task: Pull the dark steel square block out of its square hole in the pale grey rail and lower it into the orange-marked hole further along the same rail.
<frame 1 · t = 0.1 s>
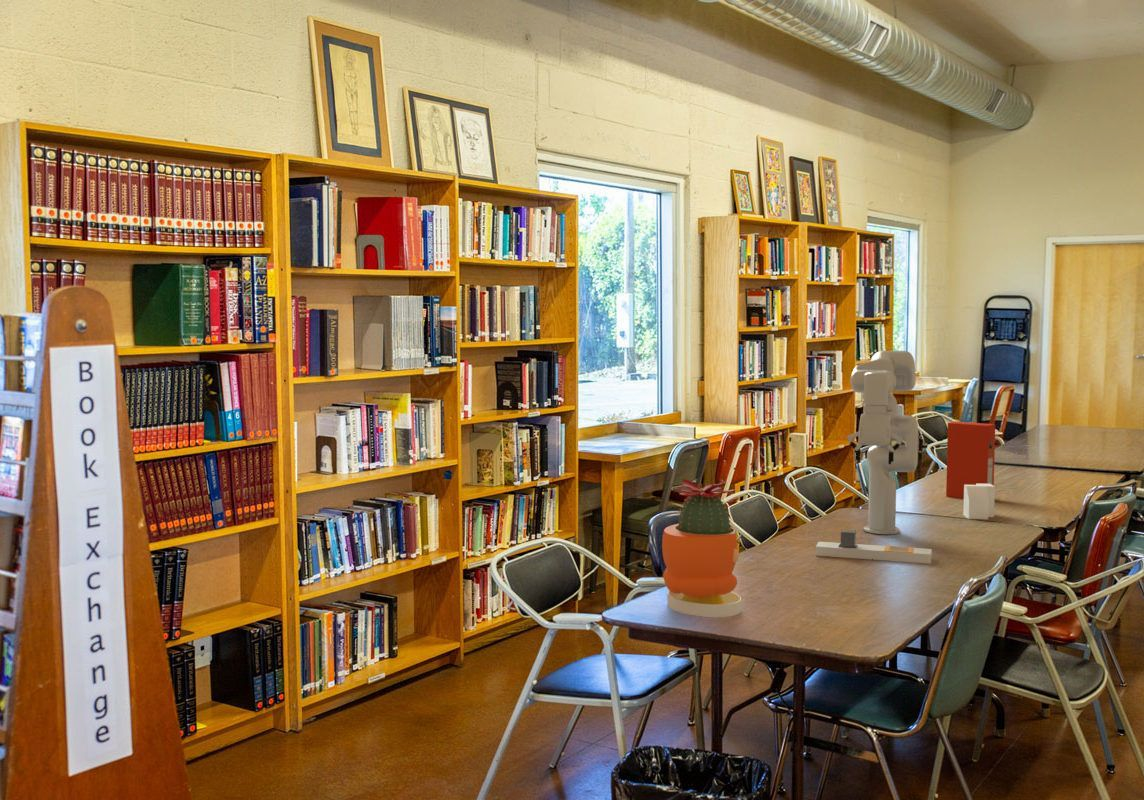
hand: (874, 463, 350), 31 cm above the table, tool pointing down, fingers open, 9 cm apart
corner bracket: (979, 516, 423), on the table
rail: (873, 556, 355), on the table
file binder: (969, 498, 464), on the table
potted cactus: (699, 609, 294), on the table
steel block: (848, 555, 357), resting in rail
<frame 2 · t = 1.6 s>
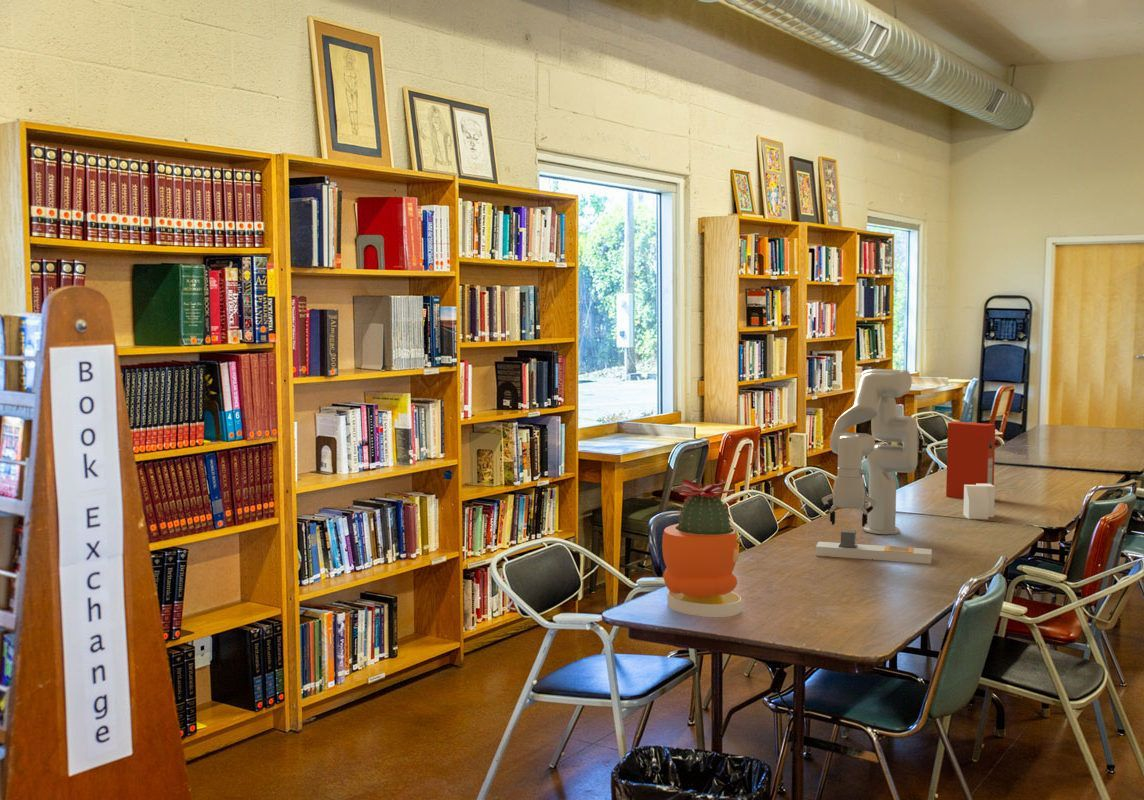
hand: (848, 525, 356), 10 cm above the table, tool pointing down, fingers open, 9 cm apart
nothing on the table moved.
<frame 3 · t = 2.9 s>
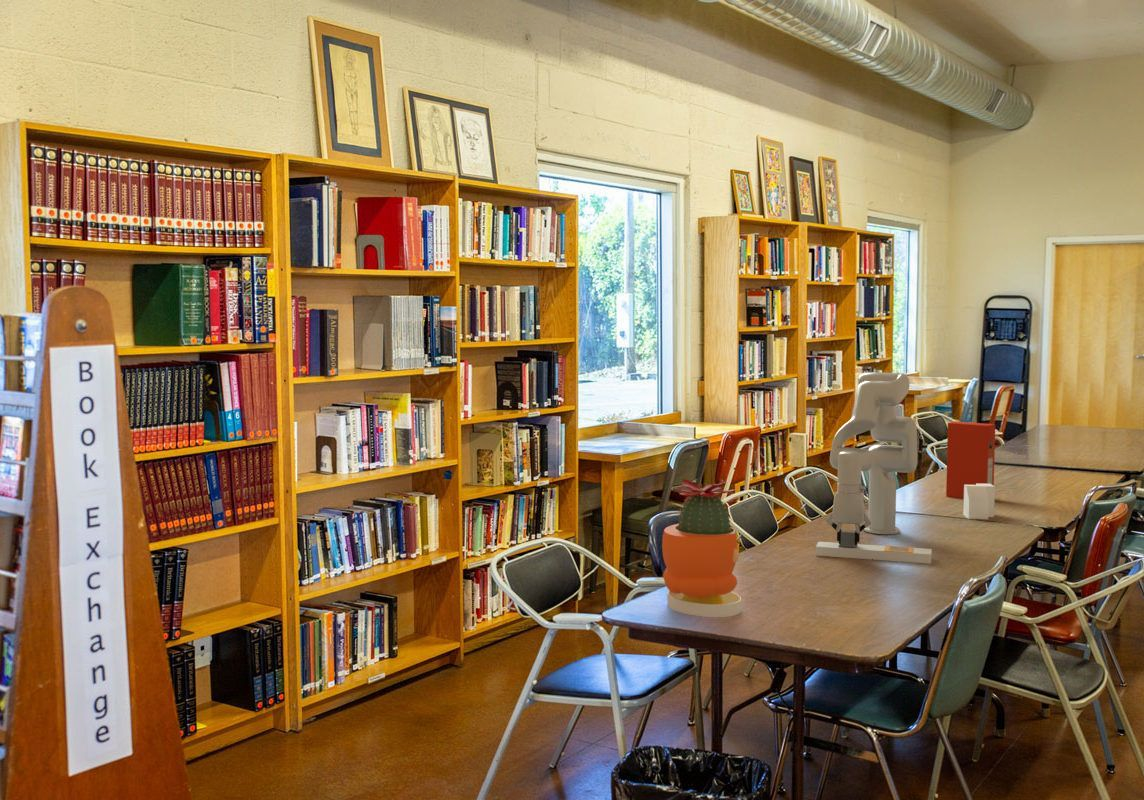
hand: (848, 543, 357), 4 cm above the table, tool pointing down, fingers closed on steel block, 4 cm apart
steel block: (847, 555, 357), resting in rail, touching gripper
everything else where it was.
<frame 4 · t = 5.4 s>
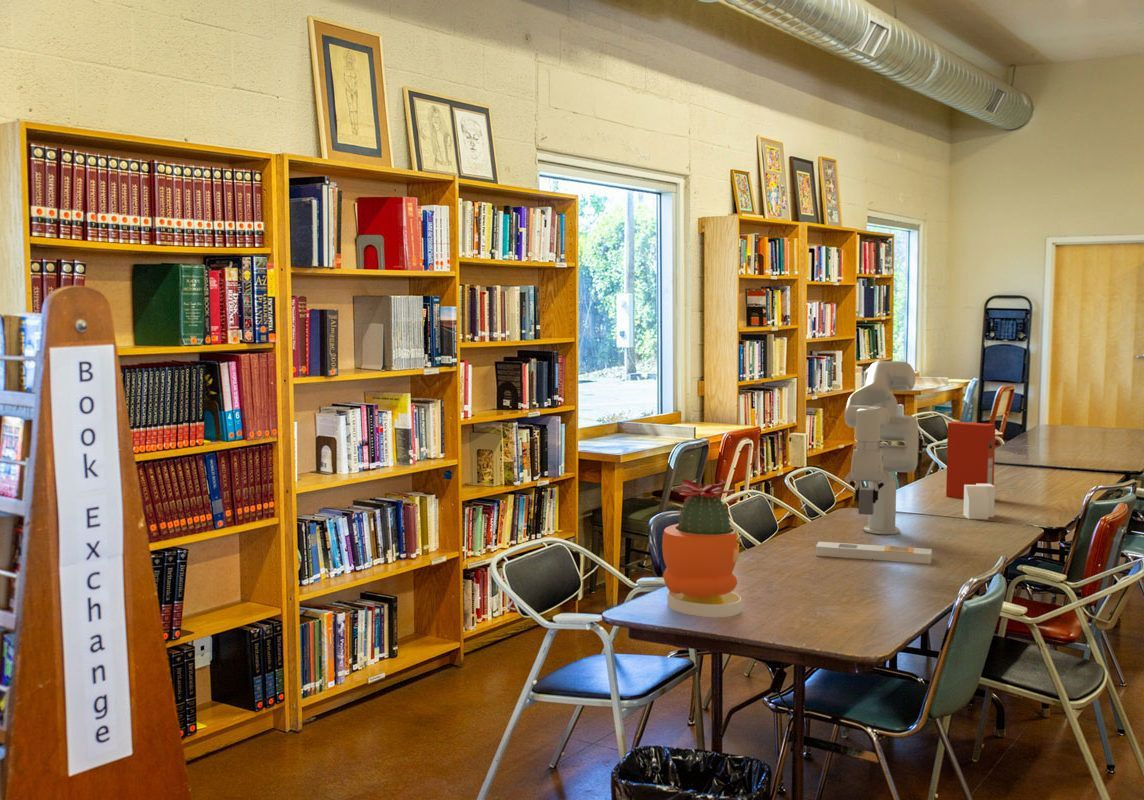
hand: (866, 501, 354), 18 cm above the table, tool pointing down, fingers closed on steel block, 4 cm apart
steel block: (866, 513, 354), point 14 cm above the table, touching gripper
everything else where it was.
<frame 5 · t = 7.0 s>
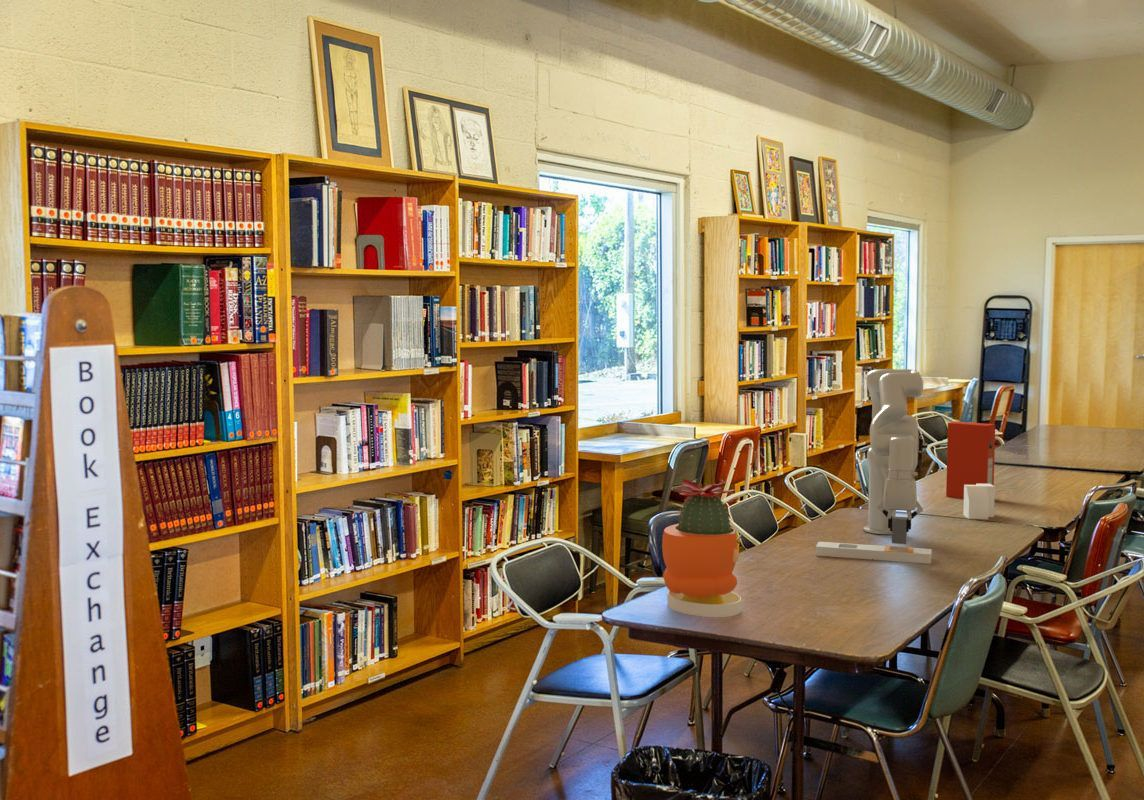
hand: (899, 530, 351), 9 cm above the table, tool pointing down, fingers closed on steel block, 4 cm apart
steel block: (899, 542, 352), point 5 cm above the table, touching gripper
everything else where it was.
when the fingers open (5 cm above the table, at t = 8.3 s): steel block stays where it is, resting in rail.
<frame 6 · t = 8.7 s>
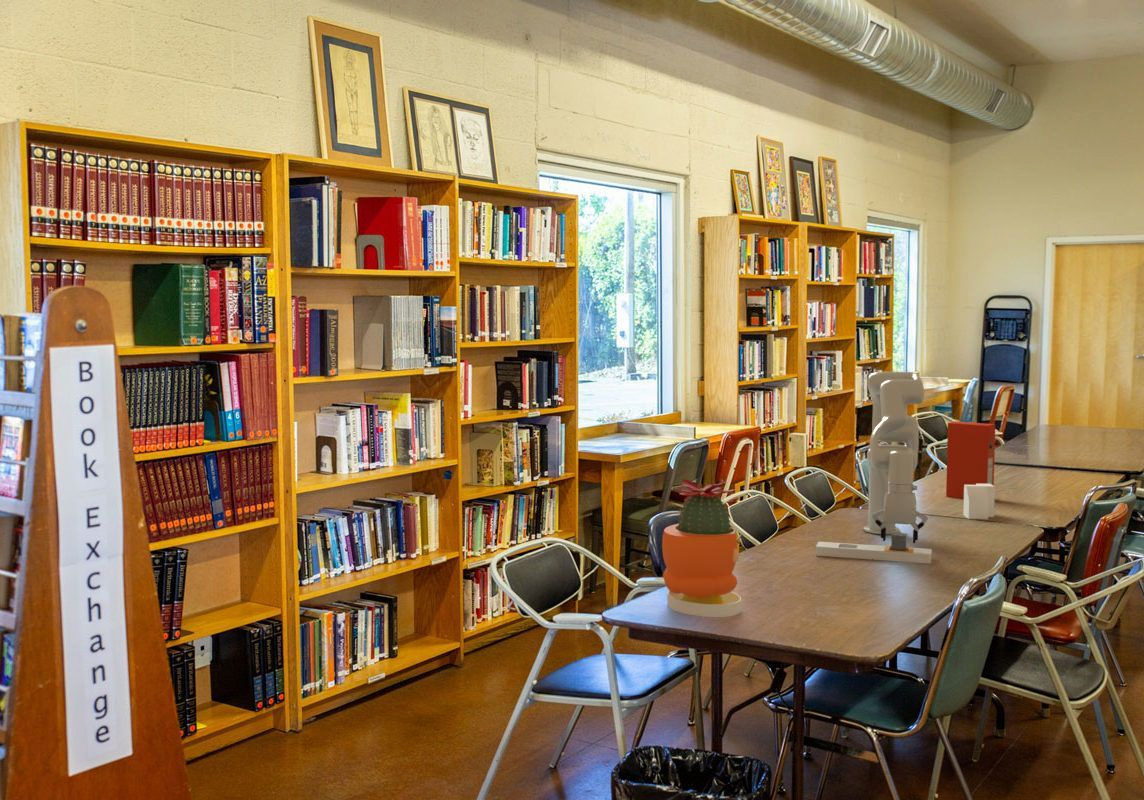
hand: (899, 541, 352), 6 cm above the table, tool pointing down, fingers open, 9 cm apart
steel block: (898, 558, 352), resting in rail
everything else where it was.
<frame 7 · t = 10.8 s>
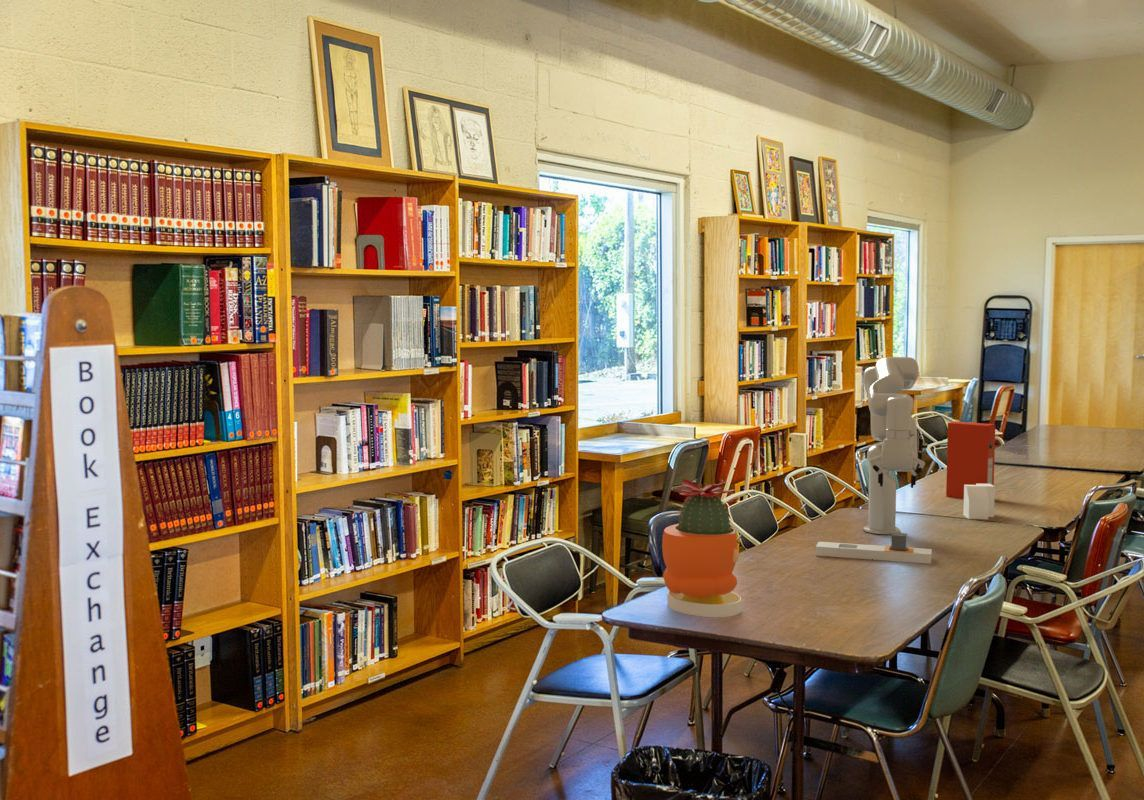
hand: (896, 486, 356), 23 cm above the table, tool pointing down, fingers open, 9 cm apart
nothing on the table moved.
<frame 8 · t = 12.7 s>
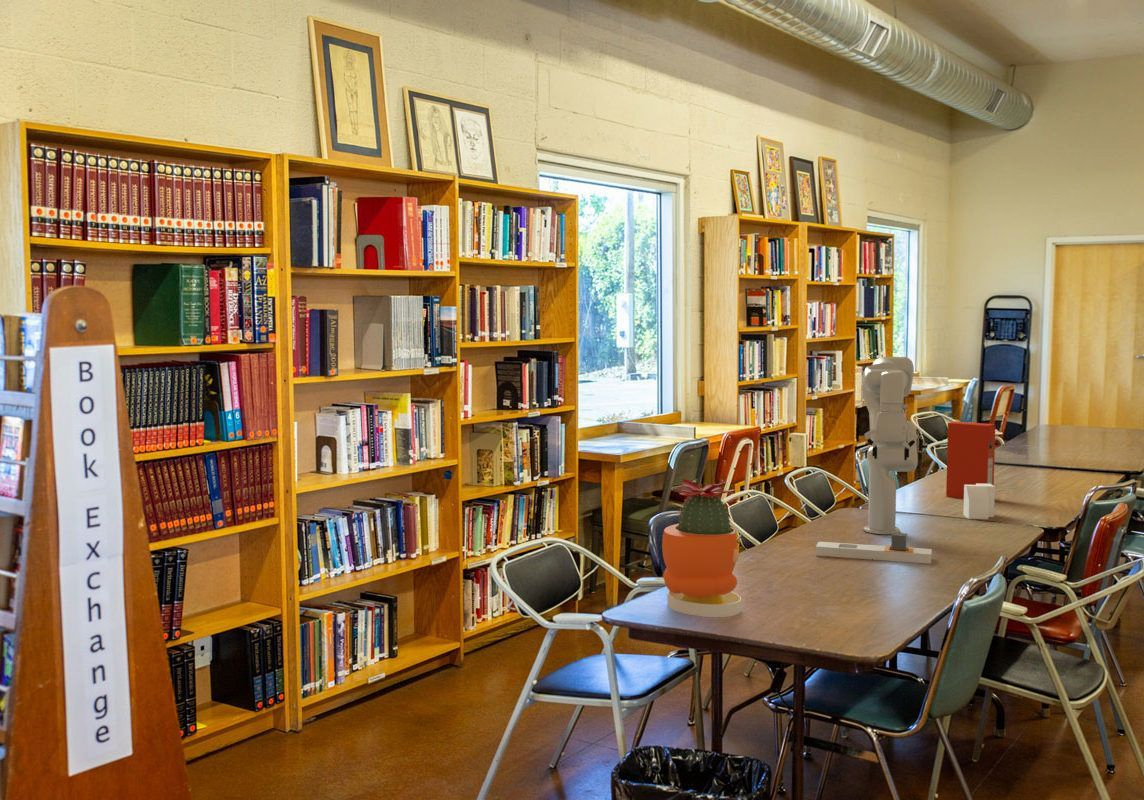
hand: (890, 459, 365), 30 cm above the table, tool pointing down, fingers open, 9 cm apart
nothing on the table moved.
at the end: steel block 0.1 cm from the target spot on the rail, point 0.0 cm above the rail's base; steel block tilted 0°; the gripper is holding nothing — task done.
